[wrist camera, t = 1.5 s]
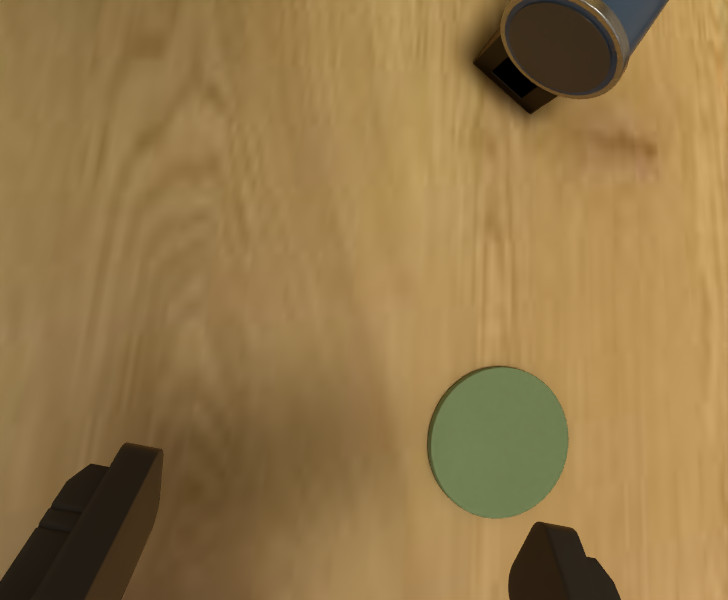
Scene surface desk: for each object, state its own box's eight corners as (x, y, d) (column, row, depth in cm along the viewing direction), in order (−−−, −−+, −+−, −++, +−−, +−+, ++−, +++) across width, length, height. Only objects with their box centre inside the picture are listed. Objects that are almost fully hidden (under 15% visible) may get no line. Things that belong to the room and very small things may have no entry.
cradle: (530, 114, 35) (569, 88, 31) (472, 63, 34) (505, 29, 30) (579, 44, 36) (624, 10, 32) (525, -8, 35) (563, -50, 31)
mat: (427, 367, 33) (431, 368, 33) (563, 365, 35) (568, 366, 35) (426, 520, 33) (430, 524, 32) (563, 509, 35) (568, 513, 35)
